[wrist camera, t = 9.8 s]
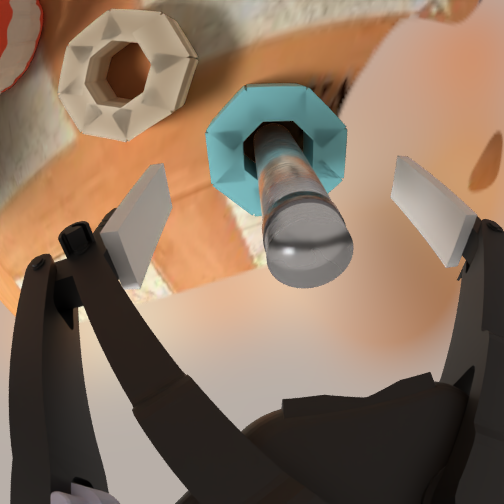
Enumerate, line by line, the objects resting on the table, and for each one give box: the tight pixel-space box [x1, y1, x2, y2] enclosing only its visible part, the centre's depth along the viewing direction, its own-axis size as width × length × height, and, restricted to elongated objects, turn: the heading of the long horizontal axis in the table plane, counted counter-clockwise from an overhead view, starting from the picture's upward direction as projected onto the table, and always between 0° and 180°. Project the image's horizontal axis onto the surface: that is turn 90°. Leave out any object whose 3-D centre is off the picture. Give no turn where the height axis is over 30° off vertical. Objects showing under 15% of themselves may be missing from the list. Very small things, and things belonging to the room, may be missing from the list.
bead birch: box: [58, 9, 199, 142], centre depth 15 cm, size 9×9×4 cm
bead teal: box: [205, 83, 347, 216], centre depth 19 cm, size 9×9×4 cm
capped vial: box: [253, 124, 353, 288], centre depth 15 cm, size 3×3×14 cm
